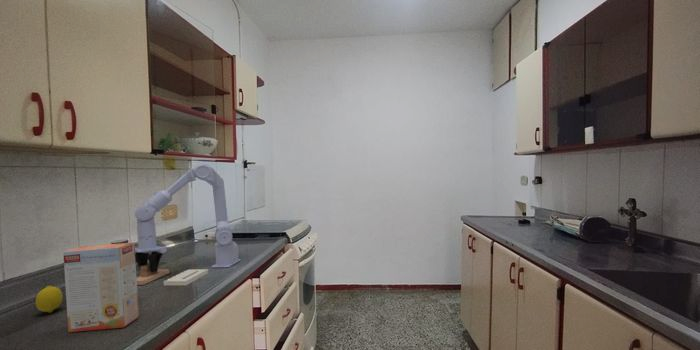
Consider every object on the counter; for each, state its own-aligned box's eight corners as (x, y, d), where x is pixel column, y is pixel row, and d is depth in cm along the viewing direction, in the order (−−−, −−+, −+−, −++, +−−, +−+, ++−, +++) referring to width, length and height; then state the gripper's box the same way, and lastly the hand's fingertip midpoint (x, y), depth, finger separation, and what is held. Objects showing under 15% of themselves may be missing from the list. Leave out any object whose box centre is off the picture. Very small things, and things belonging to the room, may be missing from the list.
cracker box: (140, 316, 77) (135, 241, 77) (123, 328, 71) (118, 247, 71) (88, 320, 77) (83, 244, 77) (67, 333, 71) (61, 250, 71)
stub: (155, 273, 115) (154, 259, 115) (169, 272, 114) (168, 259, 114) (128, 284, 103) (127, 269, 103) (143, 284, 102) (142, 269, 102)
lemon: (60, 306, 88) (58, 281, 87) (66, 310, 85) (64, 283, 85) (34, 314, 83) (32, 288, 83) (39, 319, 80) (37, 291, 80)
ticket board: (187, 273, 112) (187, 269, 112) (208, 273, 111) (208, 269, 111) (163, 285, 101) (163, 280, 101) (186, 285, 99) (186, 280, 99)
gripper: (120, 239, 105) (123, 275, 105) (154, 238, 103) (157, 275, 103) (137, 235, 112) (139, 269, 112) (169, 234, 110) (172, 268, 110)
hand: (149, 271), depth 108 cm, fingers open, 4 cm apart
